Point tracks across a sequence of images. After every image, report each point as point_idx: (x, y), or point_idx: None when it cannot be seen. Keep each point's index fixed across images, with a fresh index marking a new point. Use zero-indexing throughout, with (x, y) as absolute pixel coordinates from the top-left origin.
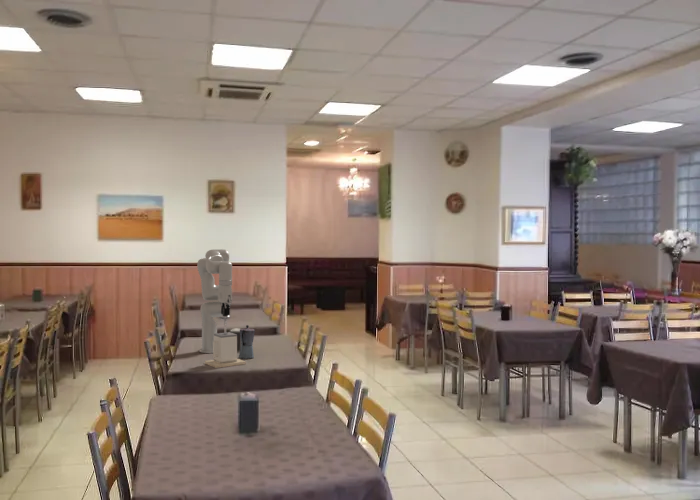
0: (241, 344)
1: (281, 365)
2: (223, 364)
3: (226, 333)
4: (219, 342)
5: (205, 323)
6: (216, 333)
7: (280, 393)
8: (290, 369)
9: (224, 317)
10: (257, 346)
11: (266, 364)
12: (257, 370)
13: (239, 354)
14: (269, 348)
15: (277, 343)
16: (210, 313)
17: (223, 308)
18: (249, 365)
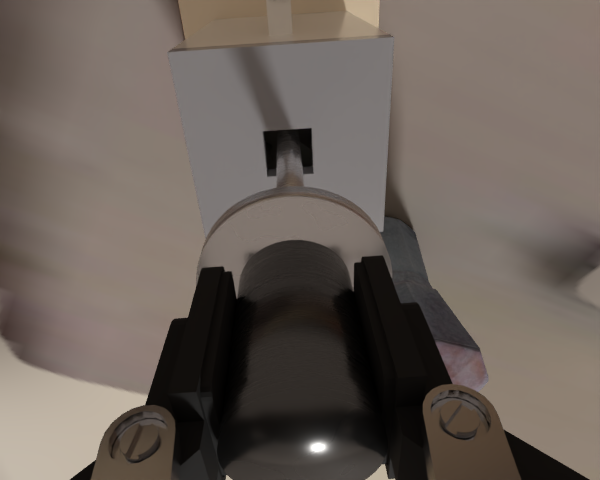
0: (400, 273)
1: (110, 316)
2: (183, 25)
3: (321, 178)
4: (228, 37)
5: None
6: (388, 75)
7: None
8: (2, 316)
9: (211, 232)
10: (587, 379)
11: (161, 272)
12: (13, 177)
13: (397, 228)
14: (505, 399)
15: (570, 448)
16: None
17: (263, 377)
18: (170, 191)
